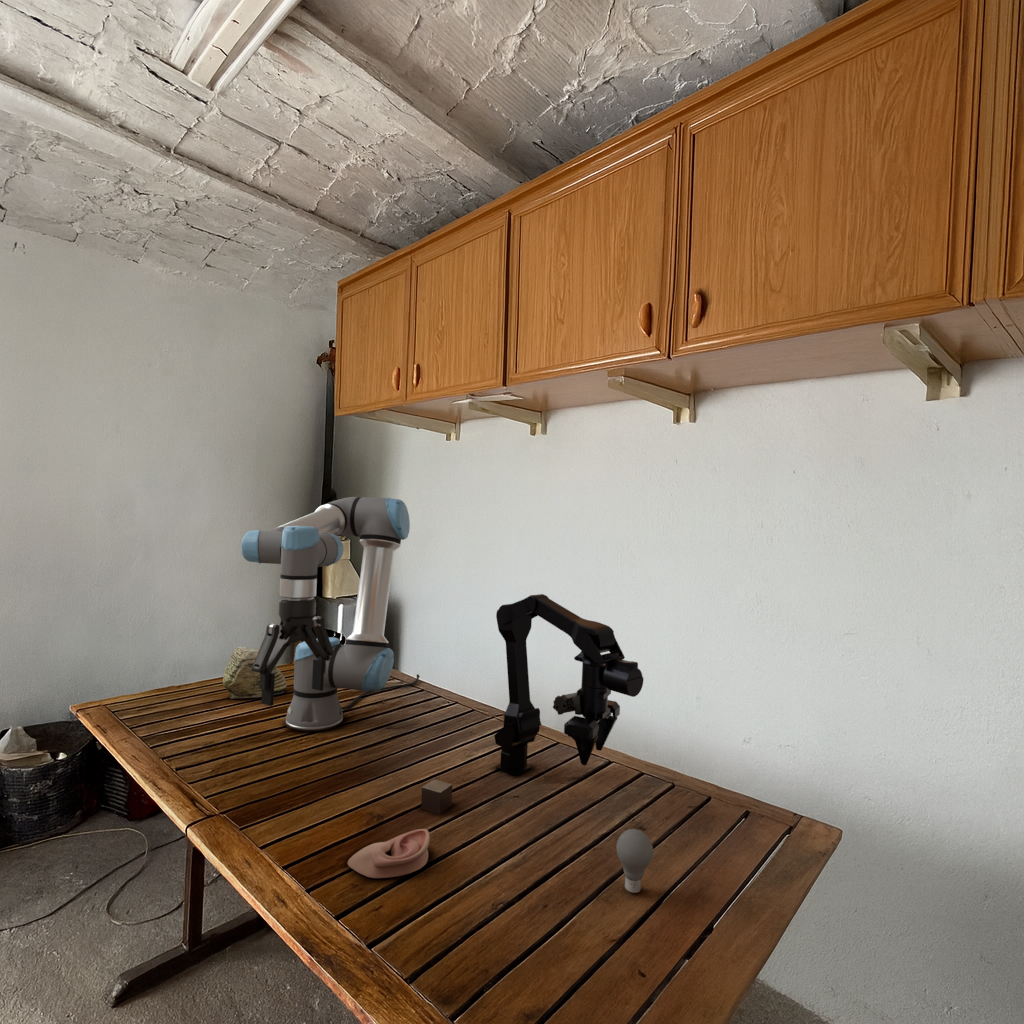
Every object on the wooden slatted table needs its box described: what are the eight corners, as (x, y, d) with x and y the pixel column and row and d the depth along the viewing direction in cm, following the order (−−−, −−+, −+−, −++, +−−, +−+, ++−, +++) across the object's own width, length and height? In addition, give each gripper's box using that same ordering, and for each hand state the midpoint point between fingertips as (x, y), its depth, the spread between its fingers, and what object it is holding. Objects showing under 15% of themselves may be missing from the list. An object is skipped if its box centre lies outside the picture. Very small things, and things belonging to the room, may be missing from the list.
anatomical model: (339, 849, 107) (368, 816, 118) (339, 872, 107) (367, 837, 118) (414, 862, 104) (436, 827, 115) (413, 885, 104) (435, 848, 116)
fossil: (218, 695, 195) (220, 647, 195) (278, 685, 208) (279, 640, 207) (228, 703, 189) (230, 653, 188) (289, 692, 201) (290, 645, 201)
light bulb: (610, 879, 108) (613, 822, 108) (644, 879, 109) (647, 822, 109) (619, 902, 102) (622, 840, 102) (655, 901, 103) (658, 840, 103)
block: (433, 800, 135) (434, 778, 134) (451, 805, 132) (452, 784, 132) (421, 808, 131) (421, 787, 130) (439, 814, 128) (440, 792, 128)
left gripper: (328, 590, 149) (324, 681, 149) (235, 602, 127) (231, 707, 127) (352, 594, 145) (347, 686, 145) (261, 606, 123) (256, 715, 123)
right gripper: (575, 669, 147) (572, 735, 147) (542, 688, 131) (539, 764, 131) (622, 677, 142) (618, 746, 142) (593, 698, 125) (589, 776, 126)
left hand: (293, 696), depth 136 cm, fingers open, 13 cm apart
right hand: (591, 757), depth 135 cm, fingers open, 9 cm apart
